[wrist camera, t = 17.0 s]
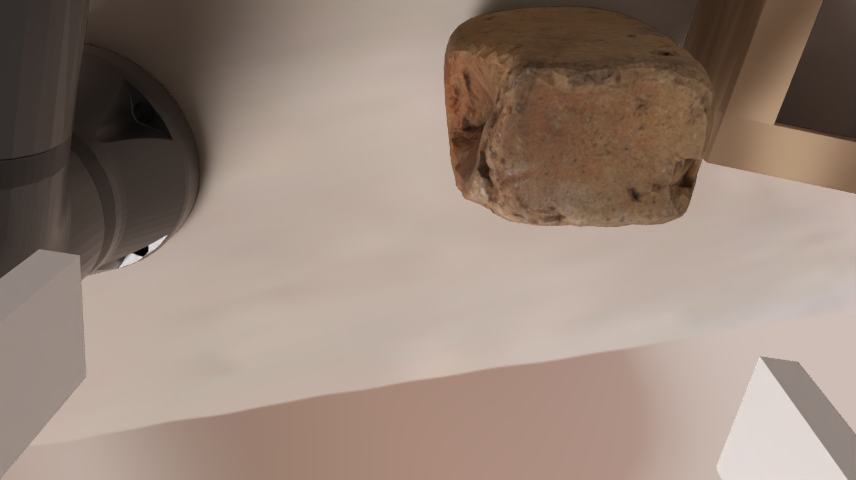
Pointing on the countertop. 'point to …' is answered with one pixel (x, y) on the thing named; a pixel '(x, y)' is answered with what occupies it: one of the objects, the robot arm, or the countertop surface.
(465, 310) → the countertop surface
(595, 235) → the countertop surface
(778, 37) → the walnut box
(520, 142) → the block
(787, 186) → the countertop surface
